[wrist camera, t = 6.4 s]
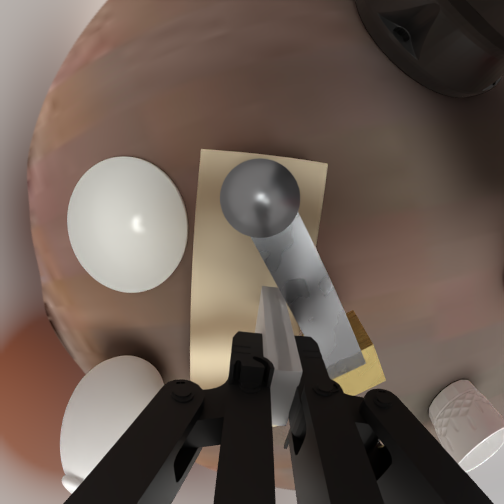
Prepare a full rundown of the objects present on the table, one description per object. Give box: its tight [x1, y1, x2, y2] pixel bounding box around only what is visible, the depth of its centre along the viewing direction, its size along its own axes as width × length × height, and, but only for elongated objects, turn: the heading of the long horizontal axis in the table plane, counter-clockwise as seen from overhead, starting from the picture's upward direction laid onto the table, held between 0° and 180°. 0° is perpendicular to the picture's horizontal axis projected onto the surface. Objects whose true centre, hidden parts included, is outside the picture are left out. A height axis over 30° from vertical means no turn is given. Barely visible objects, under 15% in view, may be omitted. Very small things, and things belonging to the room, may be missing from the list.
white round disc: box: [67, 156, 189, 293], centre depth 22 cm, size 11×11×1 cm
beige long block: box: [190, 149, 328, 426], centre depth 19 cm, size 20×7×8 cm, turn 174°
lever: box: [220, 158, 386, 396], centre depth 15 cm, size 14×4×4 cm, turn 28°
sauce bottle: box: [60, 355, 164, 493], centre depth 17 cm, size 8×8×18 cm
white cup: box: [429, 380, 504, 473], centre depth 22 cm, size 8×8×10 cm
